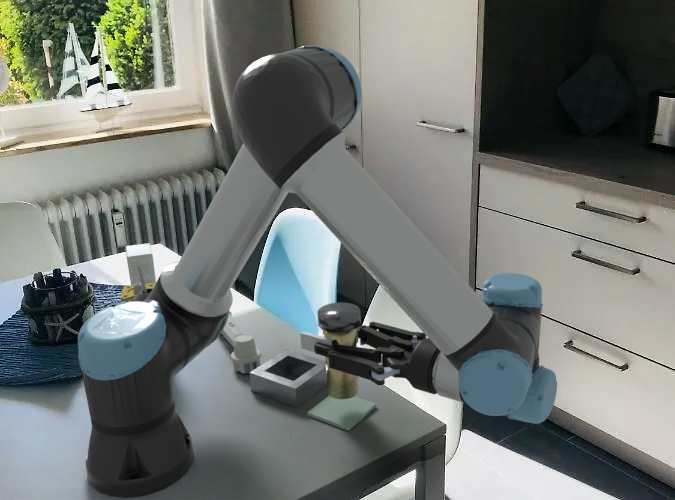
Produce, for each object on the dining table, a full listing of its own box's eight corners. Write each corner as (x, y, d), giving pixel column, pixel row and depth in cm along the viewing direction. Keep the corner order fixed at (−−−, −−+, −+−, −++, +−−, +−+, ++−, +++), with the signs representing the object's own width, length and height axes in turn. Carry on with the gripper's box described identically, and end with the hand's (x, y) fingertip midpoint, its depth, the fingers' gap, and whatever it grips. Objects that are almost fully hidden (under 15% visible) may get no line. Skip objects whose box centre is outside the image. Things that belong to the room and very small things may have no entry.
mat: (348, 430, 111) (348, 427, 111) (307, 415, 116) (307, 412, 116) (376, 406, 117) (376, 403, 117) (336, 393, 122) (336, 390, 122)
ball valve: (112, 338, 145) (105, 292, 142) (118, 317, 155) (111, 274, 151) (176, 331, 147) (170, 286, 144) (178, 311, 157) (172, 268, 153)
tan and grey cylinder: (348, 406, 111) (344, 324, 106) (314, 394, 115) (308, 314, 110) (371, 387, 116) (368, 307, 111) (338, 376, 120) (333, 299, 115)
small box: (131, 287, 170) (125, 245, 167) (155, 284, 172) (150, 242, 168) (132, 300, 163) (126, 256, 159) (158, 296, 164) (152, 253, 161)
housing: (296, 407, 118) (295, 388, 117) (251, 390, 124) (249, 372, 123) (332, 380, 126) (331, 363, 125) (287, 366, 131) (286, 349, 130)
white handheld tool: (228, 302, 151) (261, 334, 128) (232, 332, 152) (266, 370, 129) (203, 306, 149) (232, 341, 126) (208, 337, 150) (237, 376, 127)
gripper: (412, 422, 97) (278, 378, 110) (471, 366, 110) (346, 332, 123) (411, 373, 94) (275, 333, 107) (471, 321, 108) (344, 291, 121)
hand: (313, 332), depth 115 cm, fingers closed on tan and grey cylinder, 5 cm apart
